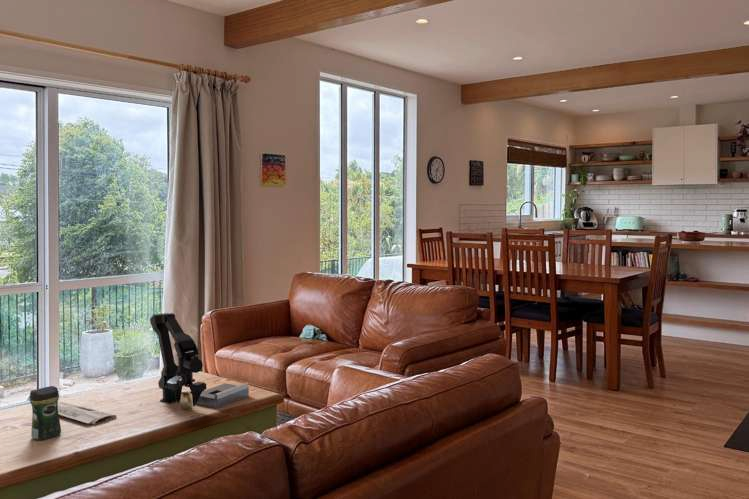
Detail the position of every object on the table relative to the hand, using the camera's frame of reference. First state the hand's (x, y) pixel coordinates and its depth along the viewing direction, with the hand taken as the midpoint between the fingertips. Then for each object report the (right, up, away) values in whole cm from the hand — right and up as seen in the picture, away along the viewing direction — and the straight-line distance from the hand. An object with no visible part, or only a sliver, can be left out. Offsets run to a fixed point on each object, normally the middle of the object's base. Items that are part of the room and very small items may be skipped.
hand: (186, 404), depth 271 cm
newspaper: (-44, -3, -8) cm, 44 cm away
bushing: (0, -2, 0) cm, 2 cm away
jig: (+12, -1, +13) cm, 18 cm away
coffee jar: (-43, -5, -31) cm, 54 cm away
